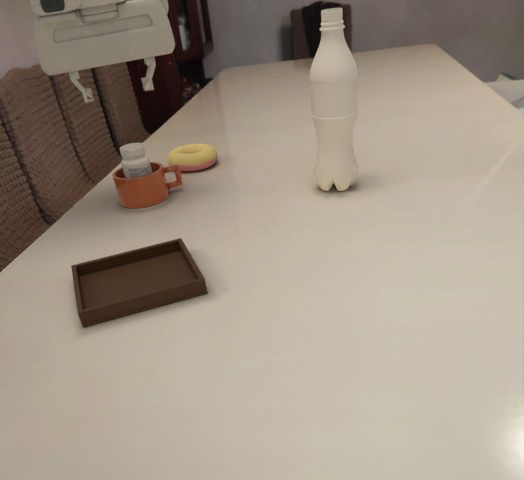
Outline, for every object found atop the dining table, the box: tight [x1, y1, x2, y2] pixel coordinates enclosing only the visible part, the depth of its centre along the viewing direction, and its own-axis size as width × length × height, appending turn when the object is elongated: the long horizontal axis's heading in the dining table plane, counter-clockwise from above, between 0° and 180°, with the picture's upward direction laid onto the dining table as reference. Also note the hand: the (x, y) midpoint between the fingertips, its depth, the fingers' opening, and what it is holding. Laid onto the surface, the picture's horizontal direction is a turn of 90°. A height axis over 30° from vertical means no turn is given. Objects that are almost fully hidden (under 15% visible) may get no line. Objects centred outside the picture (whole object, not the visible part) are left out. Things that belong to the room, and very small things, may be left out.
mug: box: [111, 161, 184, 209], centre depth 93 cm, size 12×9×5 cm
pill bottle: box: [119, 142, 152, 179], centre depth 91 cm, size 5×5×8 cm
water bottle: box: [308, 7, 359, 192], centre depth 81 cm, size 7×7×25 cm
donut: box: [167, 143, 218, 172], centre depth 105 cm, size 10×5×9 cm
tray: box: [71, 237, 208, 328], centre depth 68 cm, size 15×13×2 cm
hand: (119, 96), depth 84 cm, fingers open, 8 cm apart
